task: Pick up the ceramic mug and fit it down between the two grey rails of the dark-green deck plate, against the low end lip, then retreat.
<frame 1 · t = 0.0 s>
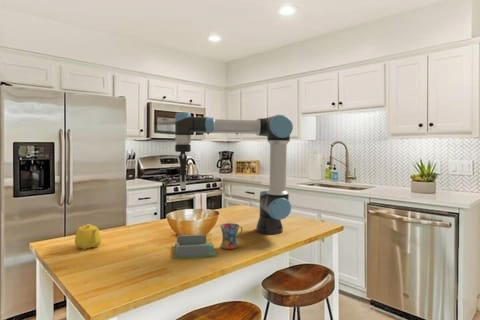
hand: (182, 186, 161), 28 cm above the kitchen island, fingers open, 13 cm apart
deck: (194, 250, 149), on the kitchen island
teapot: (88, 247, 153), on the kitchen island
mug: (231, 247, 156), on the kitchen island
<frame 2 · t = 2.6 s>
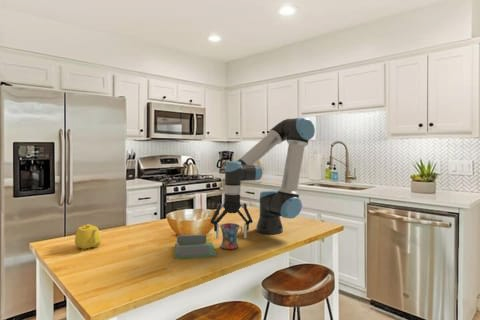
hand: (231, 237, 155), 5 cm above the kitchen island, fingers open, 13 cm apart
nothing on the kitchen island moved.
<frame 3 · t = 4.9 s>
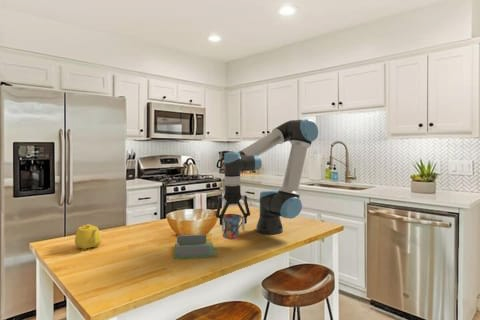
hand: (233, 230, 156), 8 cm above the kitchen island, fingers closed on mug, 9 cm apart
mug: (233, 237, 157), point 4 cm above the kitchen island, touching gripper
everything else where it was.
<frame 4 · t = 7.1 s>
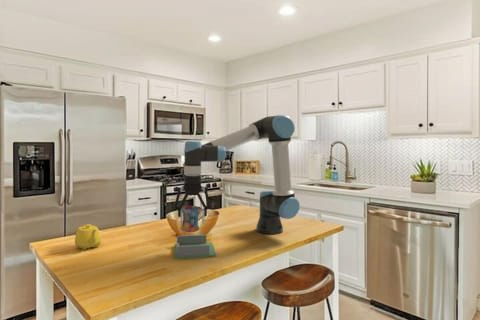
hand: (192, 223, 148), 13 cm above the kitchen island, fingers closed on mug, 9 cm apart
mug: (192, 230, 149), point 9 cm above the kitchen island, touching gripper
everything else where it was.
when the fingers open (4 cm above the kitchen island, at t = 8.5 s): mug stays where it is, resting on deck.
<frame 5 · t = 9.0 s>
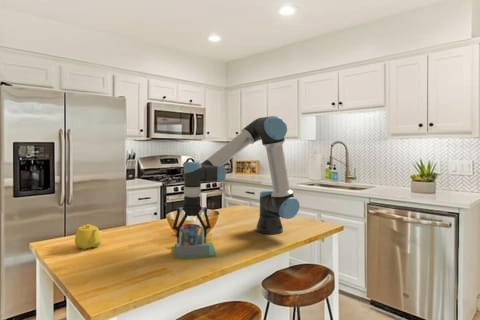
hand: (191, 243, 149), 3 cm above the kitchen island, fingers open, 10 cm apart
mug: (192, 248, 150), point 1 cm above the kitchen island, touching deck, gripper
everything else where it was.
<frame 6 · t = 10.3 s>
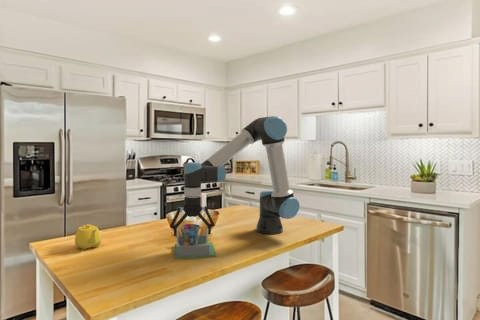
hand: (192, 242, 149), 4 cm above the kitchen island, fingers open, 13 cm apart
mug: (192, 248, 150), point 1 cm above the kitchen island, touching deck
everything else where it was.
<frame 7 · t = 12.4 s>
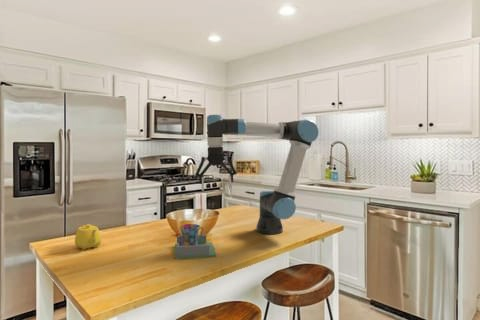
hand: (216, 189, 160), 27 cm above the kitchen island, fingers open, 13 cm apart
nothing on the kitchen island moved.
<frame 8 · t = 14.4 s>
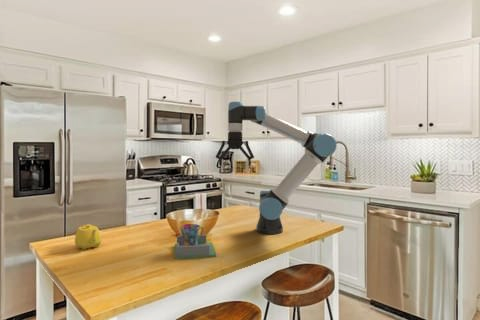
hand: (234, 171, 171), 35 cm above the kitchen island, fingers open, 13 cm apart
nothing on the kitchen island moved.
at the end: mug inside the target area on the deck (0.6 cm from its centre), point 0.8 cm above the deck's base; mug tilted 0°; the gripper is holding nothing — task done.
